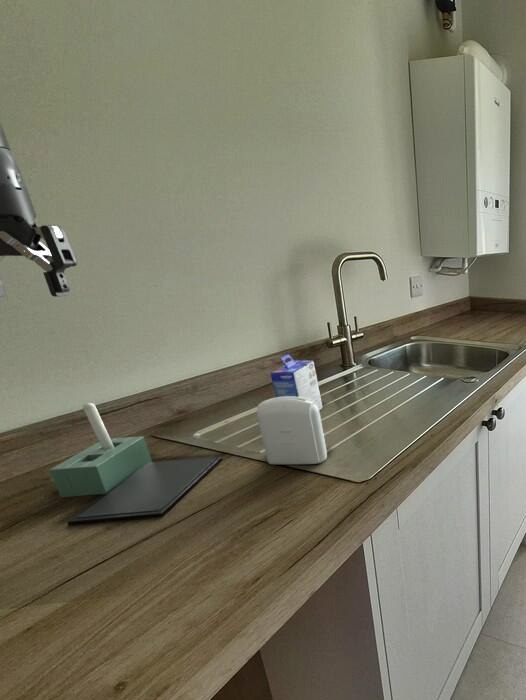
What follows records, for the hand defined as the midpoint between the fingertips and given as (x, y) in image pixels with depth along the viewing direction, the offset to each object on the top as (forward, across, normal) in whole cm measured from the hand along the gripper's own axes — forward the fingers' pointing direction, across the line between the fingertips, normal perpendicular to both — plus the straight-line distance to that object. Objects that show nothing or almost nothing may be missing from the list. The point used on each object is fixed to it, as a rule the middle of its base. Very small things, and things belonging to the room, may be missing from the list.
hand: (29, 296), depth 64 cm
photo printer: (+30, +36, -4) cm, 47 cm away
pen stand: (+30, +6, -5) cm, 31 cm away
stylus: (+30, +6, -3) cm, 31 cm away
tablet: (+30, +16, -10) cm, 36 cm away
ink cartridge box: (+30, +30, +18) cm, 46 cm away
